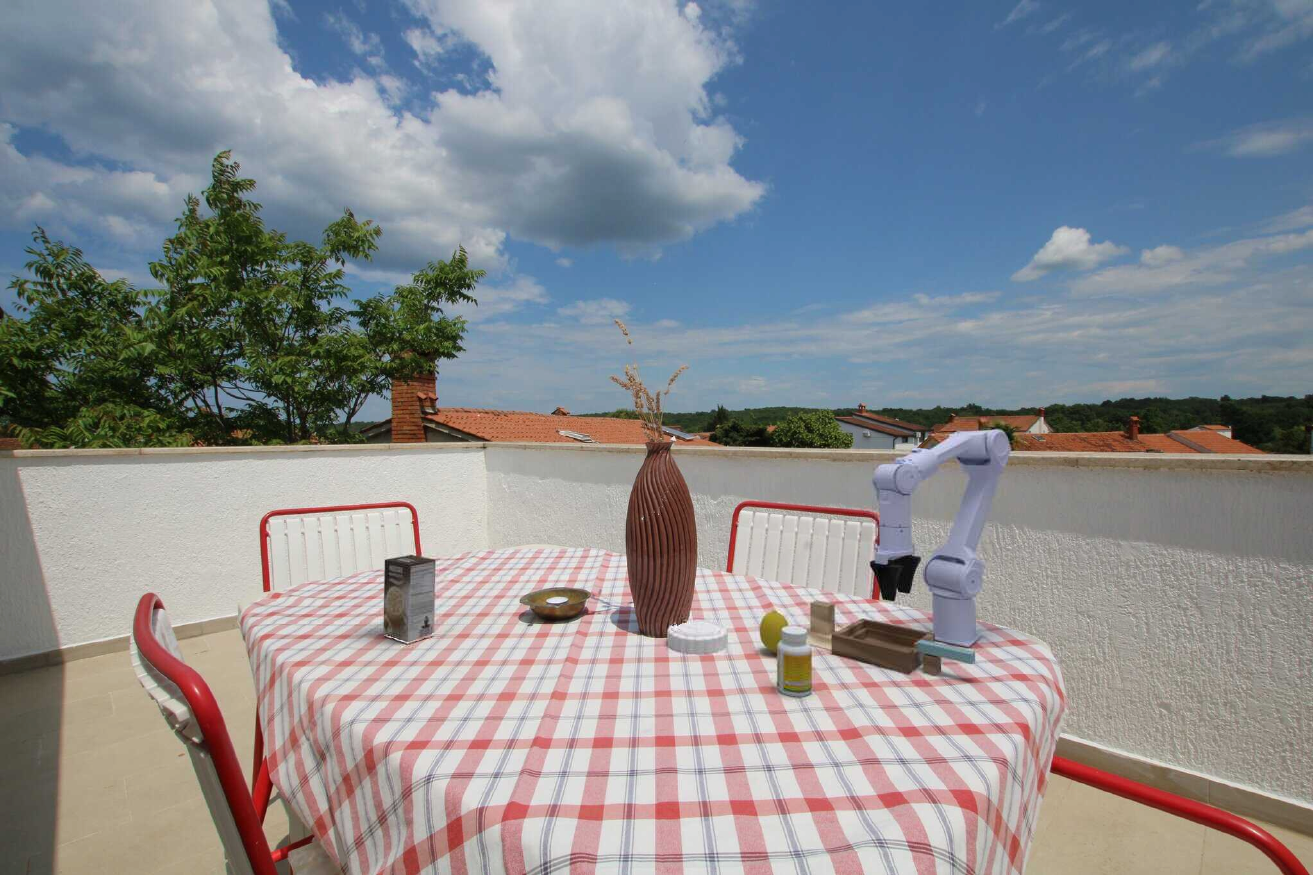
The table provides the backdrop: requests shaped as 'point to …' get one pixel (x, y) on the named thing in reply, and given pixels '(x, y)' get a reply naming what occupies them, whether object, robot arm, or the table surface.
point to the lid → (821, 624)
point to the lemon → (772, 630)
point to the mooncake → (697, 637)
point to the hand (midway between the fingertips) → (896, 596)
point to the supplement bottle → (794, 662)
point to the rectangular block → (946, 651)
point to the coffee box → (409, 597)
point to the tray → (885, 646)
